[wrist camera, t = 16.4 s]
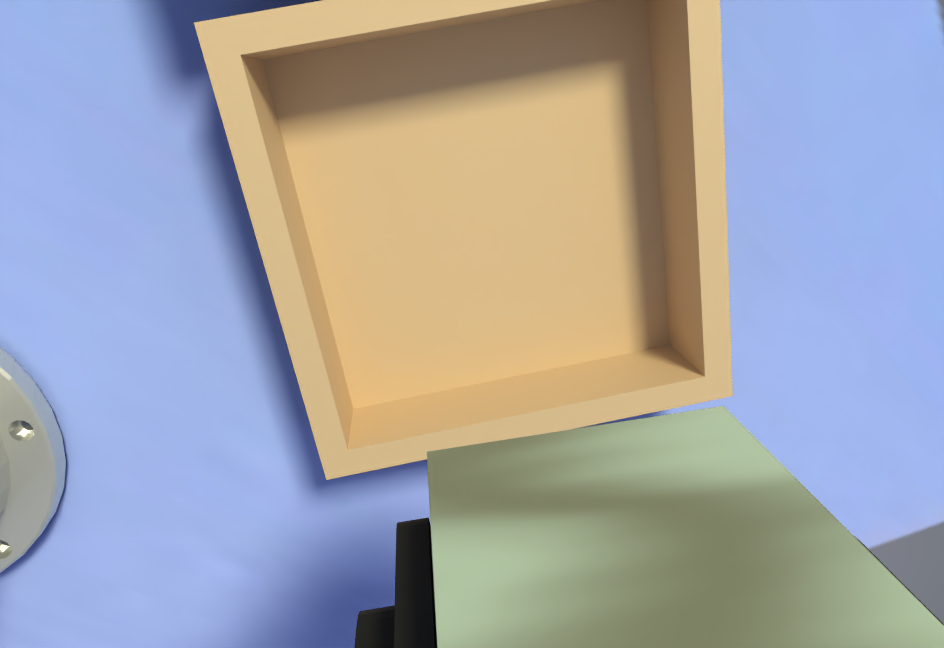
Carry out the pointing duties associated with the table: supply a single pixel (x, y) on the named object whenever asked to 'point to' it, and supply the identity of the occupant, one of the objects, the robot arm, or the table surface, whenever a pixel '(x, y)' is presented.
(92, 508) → the table surface
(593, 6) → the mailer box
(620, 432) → the green block
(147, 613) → the table surface
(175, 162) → the table surface
